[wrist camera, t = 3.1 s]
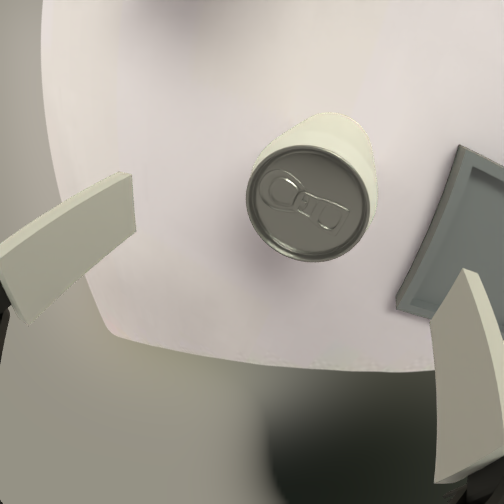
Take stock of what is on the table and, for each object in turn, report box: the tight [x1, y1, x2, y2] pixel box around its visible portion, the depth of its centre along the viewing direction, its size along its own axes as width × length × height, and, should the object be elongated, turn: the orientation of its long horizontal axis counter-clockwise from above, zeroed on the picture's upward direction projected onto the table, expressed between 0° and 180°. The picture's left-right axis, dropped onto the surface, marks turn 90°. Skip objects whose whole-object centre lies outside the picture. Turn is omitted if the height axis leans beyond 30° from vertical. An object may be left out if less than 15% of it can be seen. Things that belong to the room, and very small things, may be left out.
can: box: [246, 112, 378, 262], centre depth 17 cm, size 6×6×12 cm
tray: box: [396, 145, 504, 340], centre depth 20 cm, size 16×16×2 cm
